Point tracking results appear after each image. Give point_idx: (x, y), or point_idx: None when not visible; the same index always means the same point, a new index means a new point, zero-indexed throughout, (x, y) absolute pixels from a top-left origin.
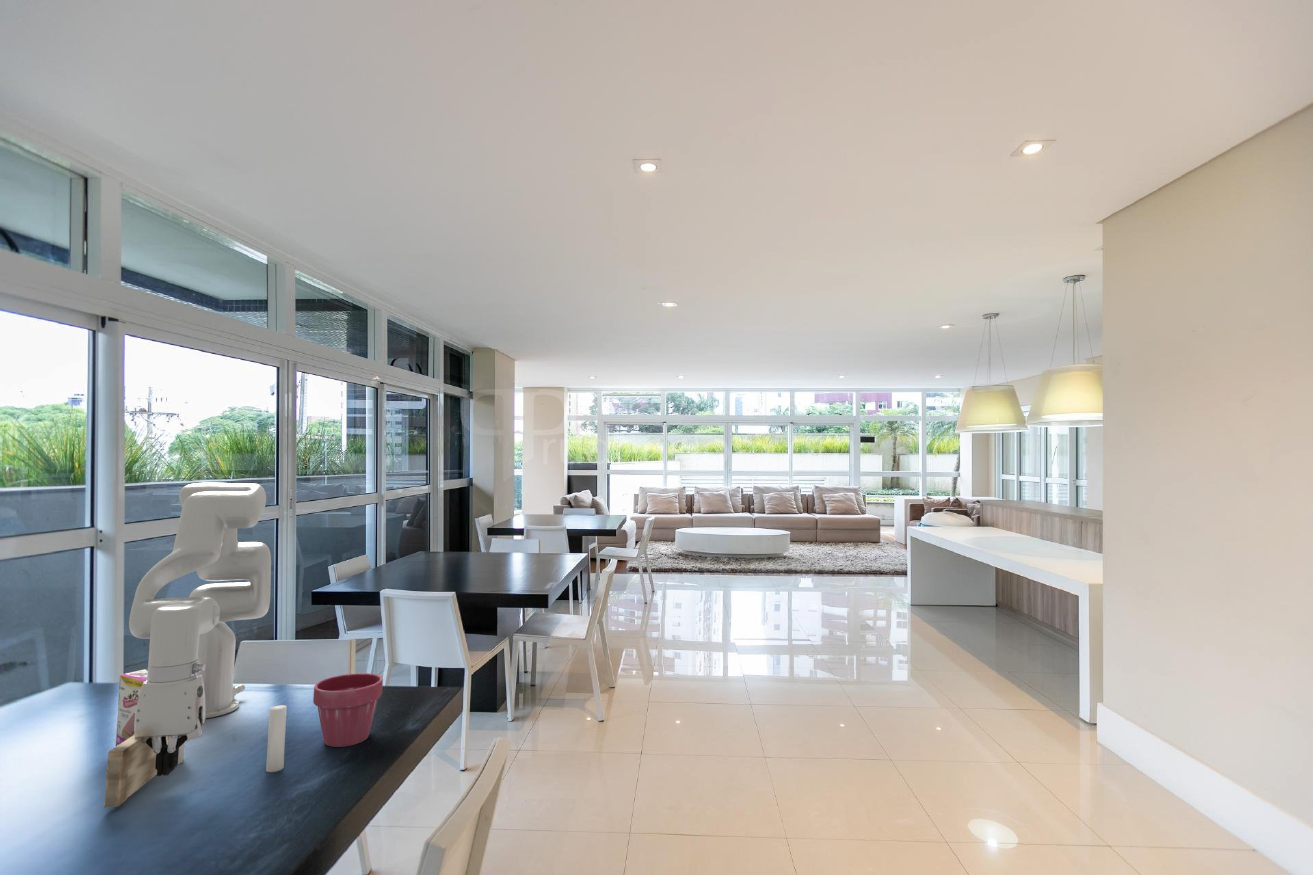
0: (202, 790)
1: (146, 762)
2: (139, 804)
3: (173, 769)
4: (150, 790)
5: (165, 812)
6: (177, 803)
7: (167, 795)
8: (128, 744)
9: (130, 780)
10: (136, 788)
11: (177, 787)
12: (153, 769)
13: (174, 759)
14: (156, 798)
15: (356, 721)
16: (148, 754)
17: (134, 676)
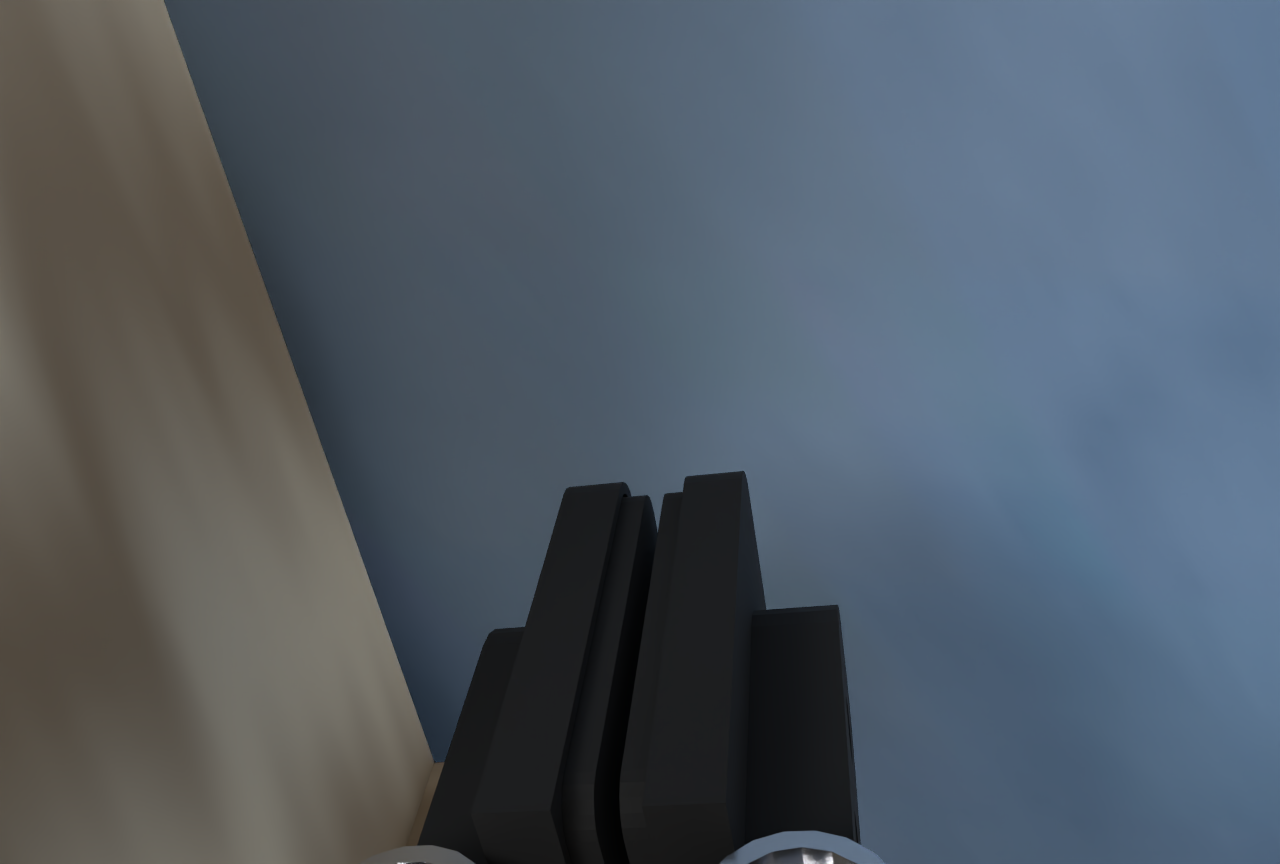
0: (1257, 384)
1: (118, 522)
2: None
3: (752, 525)
4: (435, 338)
5: (1042, 858)
6: (1071, 698)
7: (799, 496)
8: None
9: (334, 831)
10: (346, 554)
11: (785, 263)
12: (127, 122)
13: (859, 843)
14: None
15: None
16: (6, 560)
17: None
